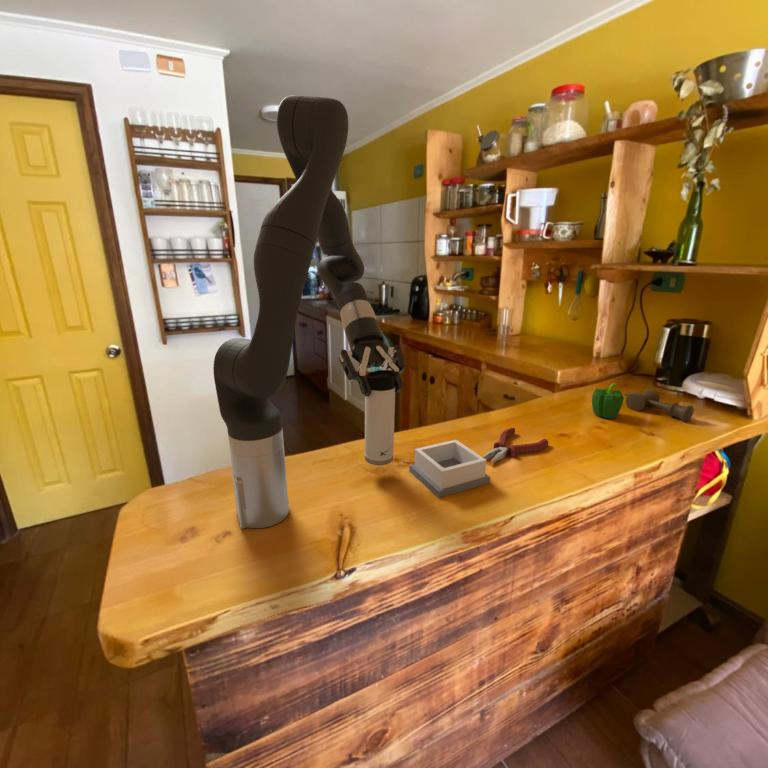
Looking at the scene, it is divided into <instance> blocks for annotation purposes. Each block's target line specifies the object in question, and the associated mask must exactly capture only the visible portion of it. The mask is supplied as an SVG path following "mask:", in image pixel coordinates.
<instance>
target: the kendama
mask: <svg viewBox="0 0 768 768" xmlns="http://www.w3.org/2000/svg"><path fill="white" fill-rule="evenodd" d="M622 395H623V396H626V398H625V404H626V407H627V408H628V409H630V410H631V411H635V412H641V411H643V410H644V409H645V406H648V407H656V408H658V409H660V410H662V411H664V412H666V413H667V414H668V416H669V417H676V418H678V419H680V420H681V421H682V422H684V423H685V422H690V420H691V418H692V417H693V415H694V412H695V408H694V406H693V405H686V406H685V405H681V404H679V403H678V402H673V403H672V402H671V403H668V402H663V401H660V398H661V397H660V394H659V392H658V391H656V390H654V389H645V390H644V391H642V393H639V392H636V391H633V392H632V391H631V392H630V393H627V392H624V393H622Z"/></svg>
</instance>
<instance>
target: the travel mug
mask: <svg viewBox="0 0 768 768" xmlns="http://www.w3.org/2000/svg"><path fill="white" fill-rule="evenodd" d="M365 376H367V379H368V382H369V385H370V388H371V394H370V396H368V397H365V396H364V460H365V462H367V463H368V464H370V465H372V466H385V465H389V464H390V463H392V462H393V460H394V447H395V445H394V444H395V443H394V441H395V415H396V414H395V409H396V392H395V377H396V376H397V371H391V370H382V369H380V370H374V371H370V372H368V373H367V374H365Z"/></svg>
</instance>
